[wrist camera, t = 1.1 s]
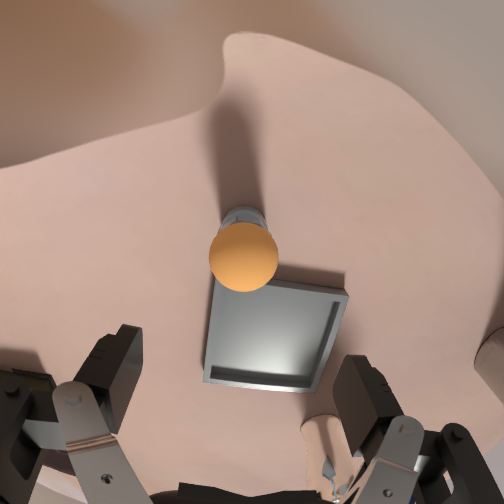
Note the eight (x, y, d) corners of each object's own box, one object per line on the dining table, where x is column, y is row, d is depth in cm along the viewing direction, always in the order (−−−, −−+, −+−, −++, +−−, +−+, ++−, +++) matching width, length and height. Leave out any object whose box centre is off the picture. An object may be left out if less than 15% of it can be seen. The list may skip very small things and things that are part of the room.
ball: (280, 221, 25) (289, 239, 20) (268, 279, 26) (273, 308, 21) (217, 211, 24) (210, 226, 20) (208, 270, 26) (201, 298, 21)
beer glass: (293, 419, 40) (306, 507, 26) (339, 406, 40) (366, 490, 26) (302, 444, 42) (316, 522, 28) (345, 432, 42) (367, 508, 28)
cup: (270, 209, 31) (276, 226, 24) (262, 251, 32) (266, 279, 25) (225, 202, 30) (219, 217, 24) (218, 244, 32) (212, 270, 25)
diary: (41, 447, 46) (33, 463, 42) (-13, 360, 38) (-27, 375, 34) (110, 465, 46) (103, 484, 41) (56, 373, 38) (41, 394, 33)
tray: (344, 289, 34) (349, 296, 32) (312, 383, 38) (314, 393, 36) (217, 270, 33) (215, 277, 31) (204, 372, 37) (202, 382, 35)
